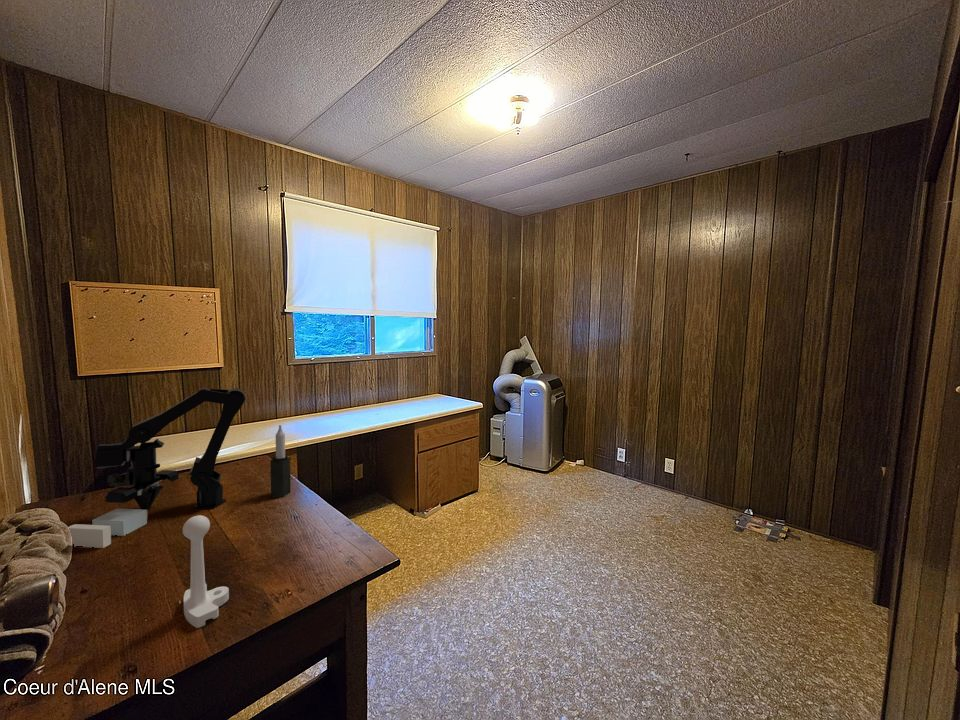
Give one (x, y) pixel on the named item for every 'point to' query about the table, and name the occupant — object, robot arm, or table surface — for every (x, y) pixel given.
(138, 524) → the sled
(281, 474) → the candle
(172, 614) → the table surface
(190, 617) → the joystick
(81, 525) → the wall
